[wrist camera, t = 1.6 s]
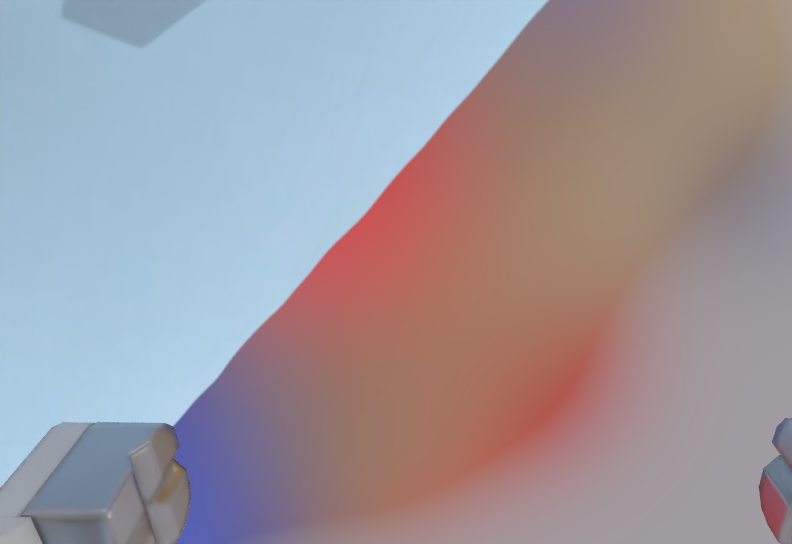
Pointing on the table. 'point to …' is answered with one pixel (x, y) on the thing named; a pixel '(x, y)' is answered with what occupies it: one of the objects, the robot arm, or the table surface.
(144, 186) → the table surface
